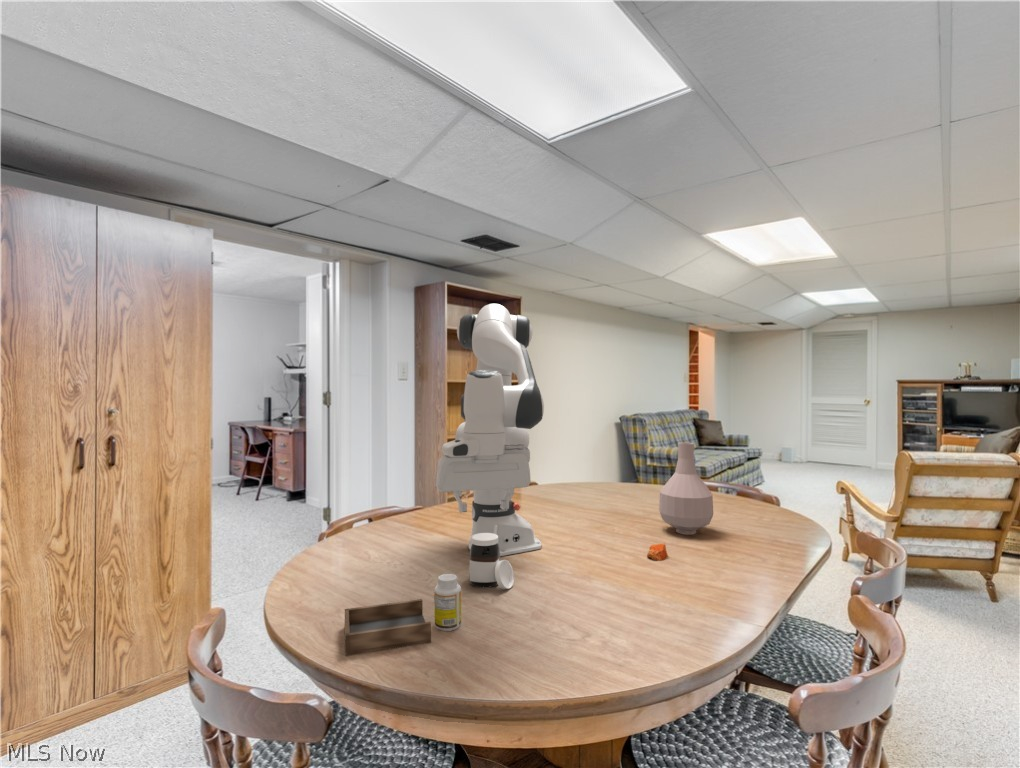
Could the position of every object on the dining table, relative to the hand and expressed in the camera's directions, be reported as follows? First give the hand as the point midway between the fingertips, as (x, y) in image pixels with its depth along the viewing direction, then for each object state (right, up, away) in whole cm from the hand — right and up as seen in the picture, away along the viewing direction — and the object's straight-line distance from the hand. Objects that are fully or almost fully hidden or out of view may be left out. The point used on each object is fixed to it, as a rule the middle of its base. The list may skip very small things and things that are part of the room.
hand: (483, 510), depth 111 cm
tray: (-19, -24, -6) cm, 31 cm away
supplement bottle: (-7, -24, -2) cm, 25 cm away
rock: (+48, -24, +40) cm, 67 cm away
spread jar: (+1, -24, +20) cm, 31 cm away
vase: (+65, -23, +65) cm, 95 cm away
